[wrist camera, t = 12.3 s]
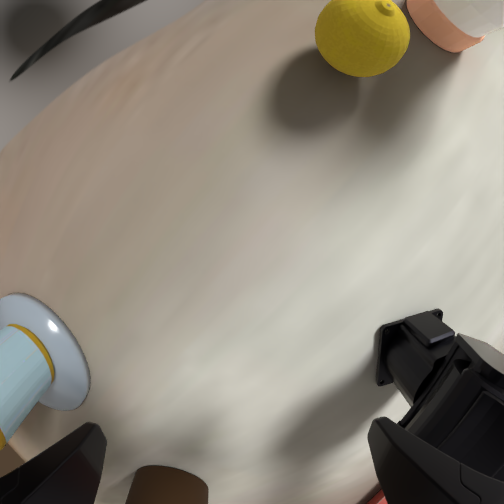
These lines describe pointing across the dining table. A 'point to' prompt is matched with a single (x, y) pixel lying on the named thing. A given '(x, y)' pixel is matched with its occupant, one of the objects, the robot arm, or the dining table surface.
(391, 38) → the lemon
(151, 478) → the olive oil
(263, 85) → the dining table surface
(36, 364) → the bottle
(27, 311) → the stand
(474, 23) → the pepper shaker
